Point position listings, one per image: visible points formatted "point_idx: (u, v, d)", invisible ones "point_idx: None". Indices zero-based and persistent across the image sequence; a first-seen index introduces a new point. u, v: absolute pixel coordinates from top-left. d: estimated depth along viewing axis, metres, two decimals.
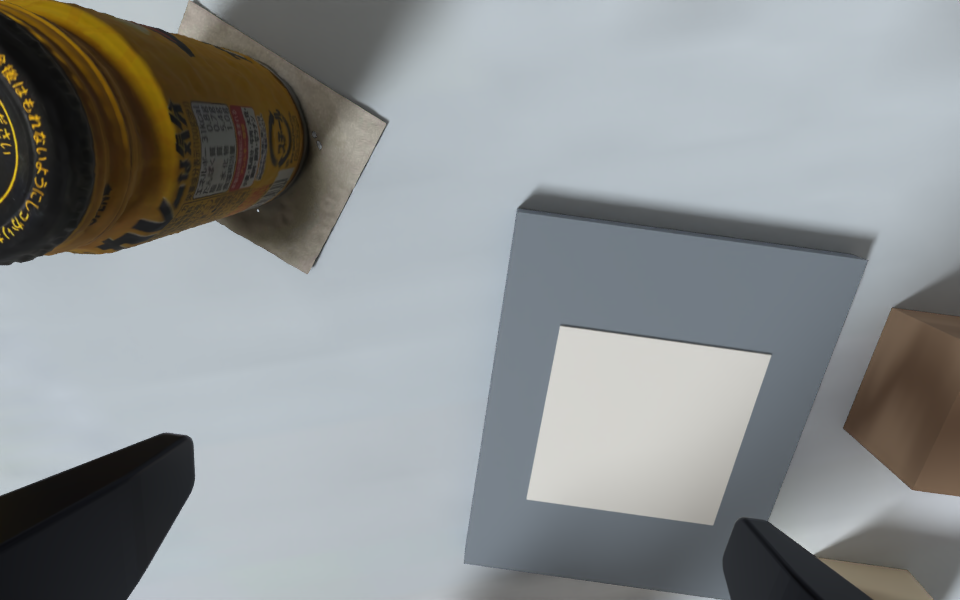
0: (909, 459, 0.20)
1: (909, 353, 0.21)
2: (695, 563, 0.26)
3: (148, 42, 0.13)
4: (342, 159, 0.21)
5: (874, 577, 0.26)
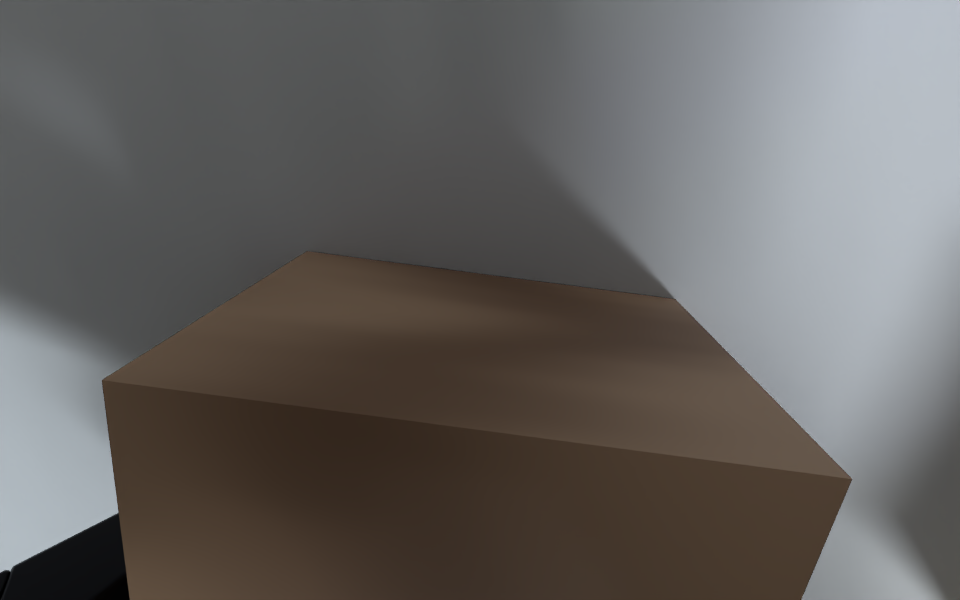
0: None
1: None
2: None
3: None
4: None
5: None
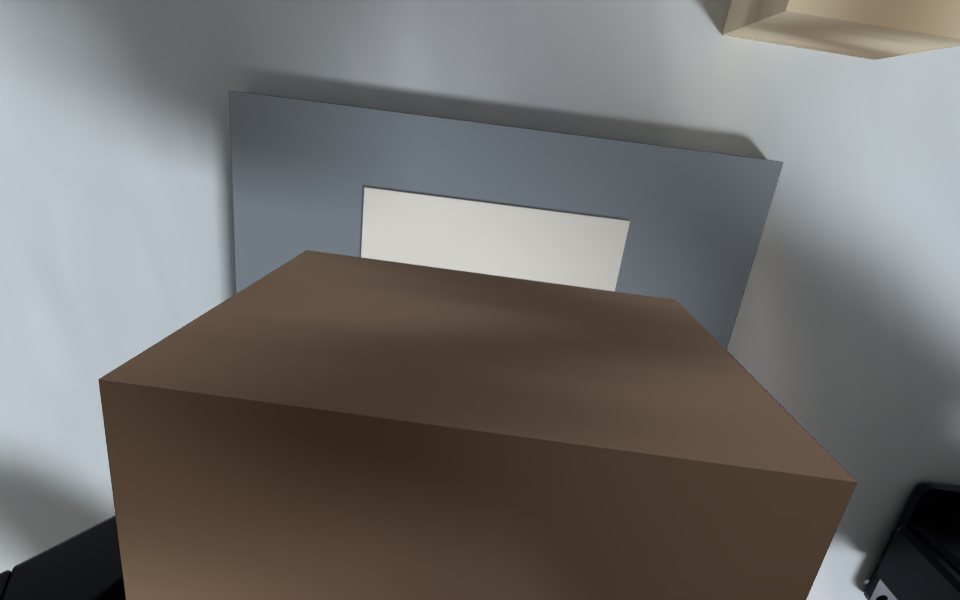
0: None
1: None
2: (700, 234, 0.18)
3: None
4: None
5: None
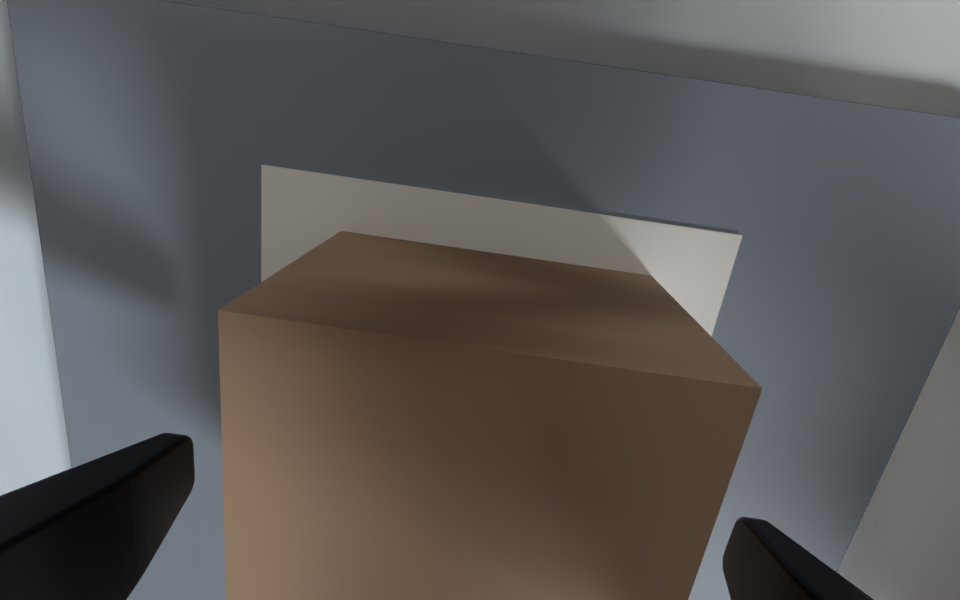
0: None
1: None
2: (867, 261, 0.10)
3: None
4: None
5: None
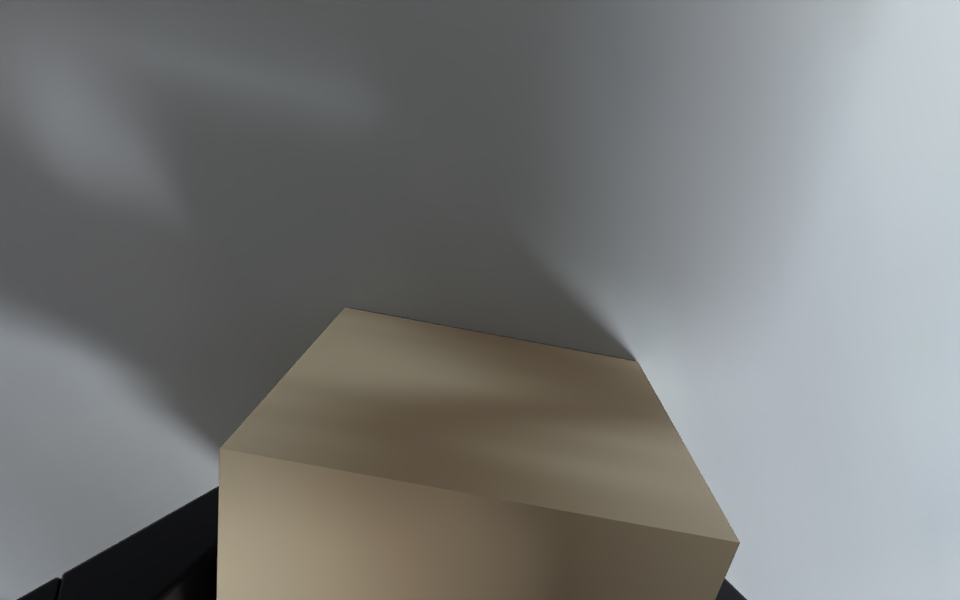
0: None
1: None
2: None
3: None
4: None
5: None
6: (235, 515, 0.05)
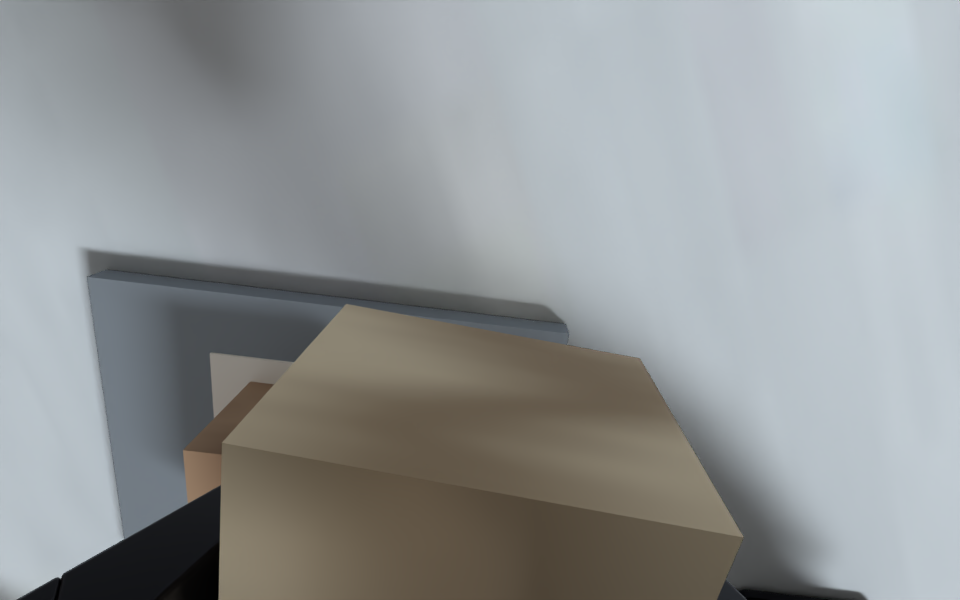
0: None
1: None
2: None
3: None
4: None
5: None
6: (237, 510, 0.05)
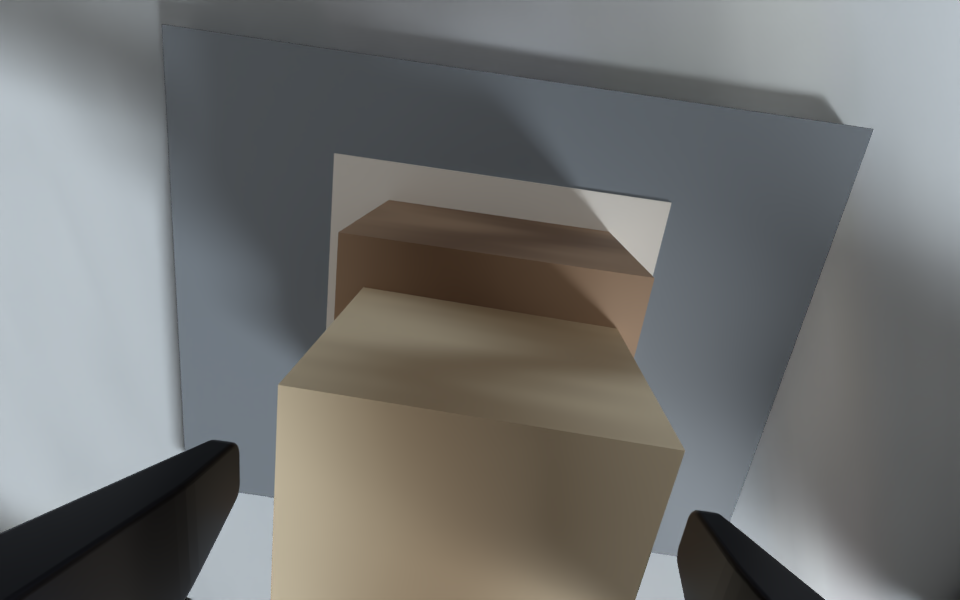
0: None
1: None
2: (760, 221, 0.14)
3: None
4: None
5: None
6: (289, 439, 0.07)
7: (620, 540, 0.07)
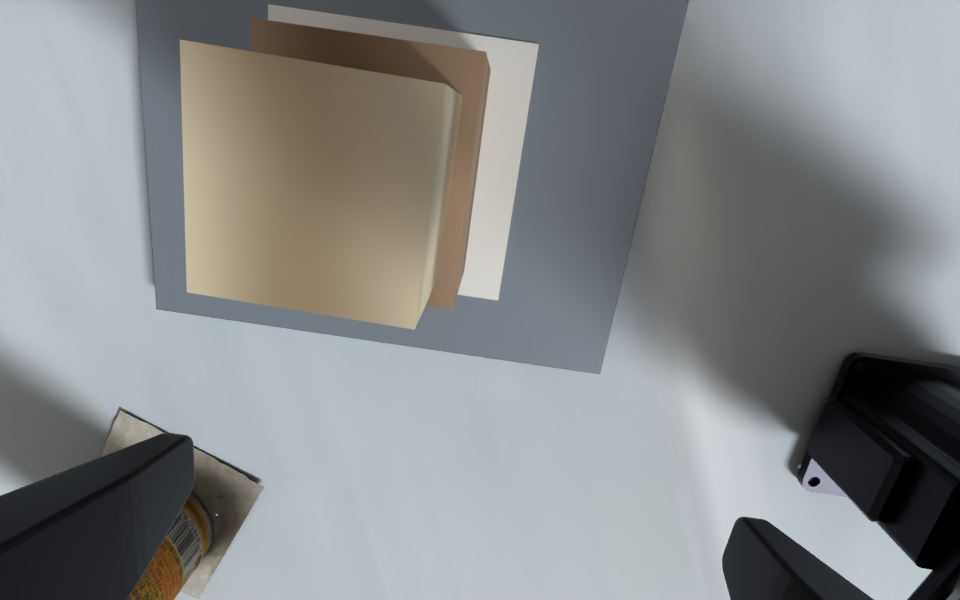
0: None
1: None
2: (611, 60, 0.17)
3: None
4: None
5: None
6: (189, 84, 0.10)
7: (413, 161, 0.10)
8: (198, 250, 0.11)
